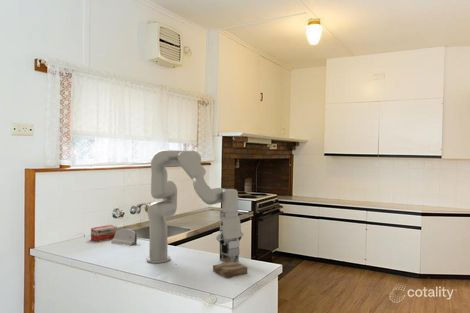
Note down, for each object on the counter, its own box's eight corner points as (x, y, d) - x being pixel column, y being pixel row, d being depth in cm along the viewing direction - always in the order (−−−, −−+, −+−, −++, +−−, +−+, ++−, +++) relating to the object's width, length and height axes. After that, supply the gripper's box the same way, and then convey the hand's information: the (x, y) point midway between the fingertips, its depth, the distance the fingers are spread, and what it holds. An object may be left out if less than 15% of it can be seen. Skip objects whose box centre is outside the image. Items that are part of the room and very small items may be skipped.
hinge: (110, 242, 228) (114, 227, 231) (115, 243, 232) (119, 228, 235) (131, 245, 221) (135, 229, 224) (136, 246, 225) (139, 230, 228)
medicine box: (96, 241, 231) (96, 229, 231) (90, 239, 236) (90, 228, 236) (117, 237, 242) (117, 226, 242) (111, 236, 247) (111, 224, 247)
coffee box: (219, 260, 190) (219, 230, 190) (227, 258, 195) (227, 229, 195) (230, 264, 184) (230, 233, 184) (239, 261, 188) (239, 231, 188)
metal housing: (229, 256, 167) (229, 241, 167) (221, 253, 172) (221, 239, 172) (239, 254, 170) (239, 240, 170) (231, 251, 176) (231, 237, 176)
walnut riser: (212, 271, 173) (212, 264, 173) (232, 266, 180) (232, 260, 180) (226, 278, 163) (226, 271, 163) (247, 273, 170) (247, 266, 170)
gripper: (219, 217, 163) (219, 256, 163) (248, 214, 173) (248, 250, 173) (210, 215, 169) (210, 253, 169) (239, 212, 179) (239, 247, 179)
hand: (230, 251), depth 171 cm, fingers closed on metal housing, 6 cm apart
